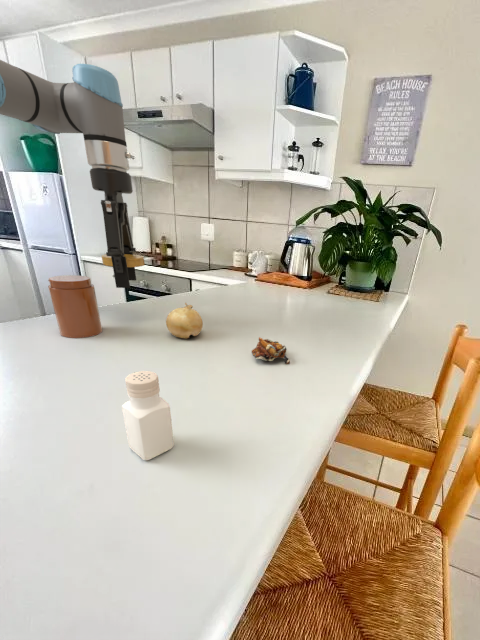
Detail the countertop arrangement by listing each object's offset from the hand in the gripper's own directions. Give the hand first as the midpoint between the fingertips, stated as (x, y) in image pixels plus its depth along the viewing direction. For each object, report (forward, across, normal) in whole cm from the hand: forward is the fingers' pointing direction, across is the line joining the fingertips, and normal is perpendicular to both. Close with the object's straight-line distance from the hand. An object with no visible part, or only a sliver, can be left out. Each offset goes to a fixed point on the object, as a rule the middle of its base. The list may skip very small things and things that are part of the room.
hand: (126, 283), depth 76 cm
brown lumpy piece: (+10, -23, -30) cm, 39 cm away
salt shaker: (+10, -52, -10) cm, 54 cm away
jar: (+9, -8, +9) cm, 15 cm away
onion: (+10, -11, -13) cm, 19 cm away
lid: (-6, 0, 0) cm, 6 cm away
